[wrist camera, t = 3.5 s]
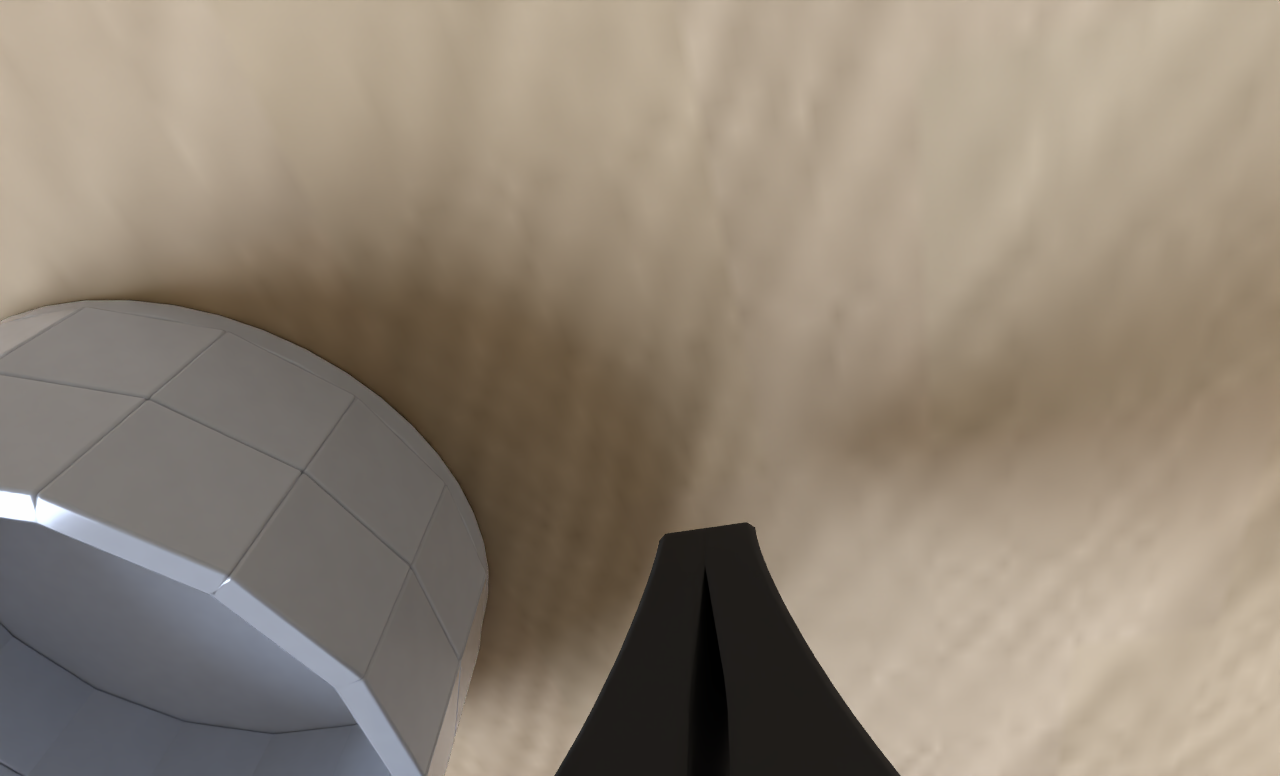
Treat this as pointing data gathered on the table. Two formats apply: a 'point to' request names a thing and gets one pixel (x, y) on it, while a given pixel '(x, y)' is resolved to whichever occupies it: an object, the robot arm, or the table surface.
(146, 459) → the pot
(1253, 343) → the table surface
